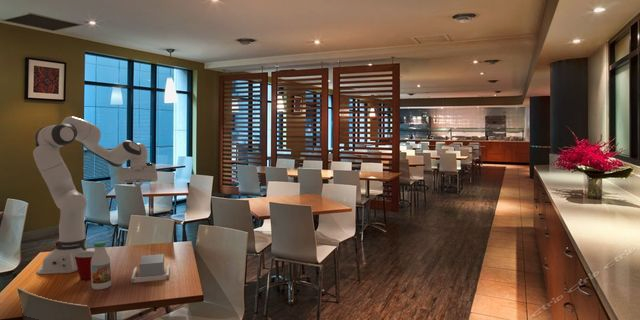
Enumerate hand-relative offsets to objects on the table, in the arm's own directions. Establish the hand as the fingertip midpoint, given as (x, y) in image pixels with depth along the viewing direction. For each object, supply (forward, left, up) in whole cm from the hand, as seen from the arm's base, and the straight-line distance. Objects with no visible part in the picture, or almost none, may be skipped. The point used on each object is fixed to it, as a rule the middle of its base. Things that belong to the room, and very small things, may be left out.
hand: (137, 187), depth 243 cm
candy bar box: (-35, +16, -38) cm, 54 cm away
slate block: (+8, -39, -38) cm, 55 cm away
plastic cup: (-20, -34, -38) cm, 55 cm away
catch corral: (+8, -38, -37) cm, 54 cm away
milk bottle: (-12, -49, -38) cm, 63 cm away
